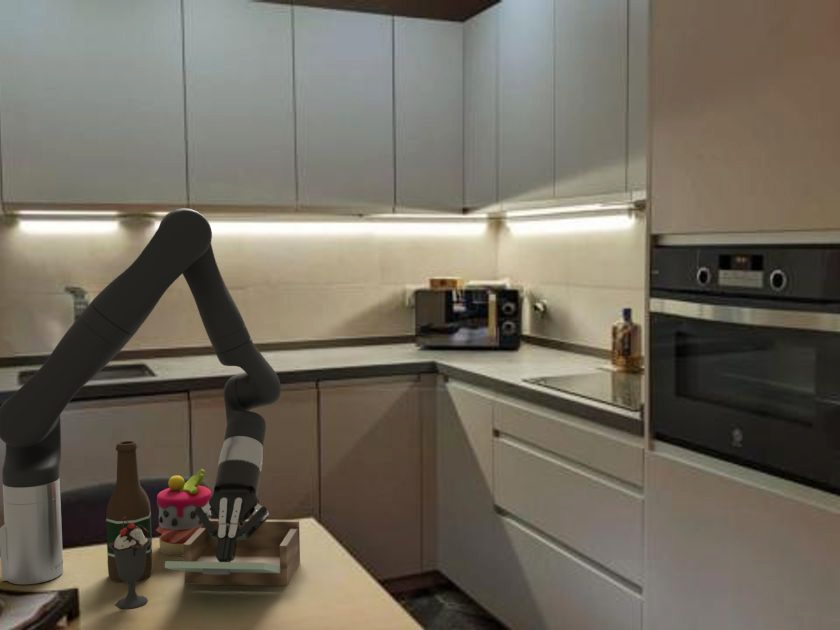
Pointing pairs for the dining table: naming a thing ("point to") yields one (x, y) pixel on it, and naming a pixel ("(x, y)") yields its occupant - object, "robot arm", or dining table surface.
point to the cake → (180, 512)
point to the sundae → (131, 561)
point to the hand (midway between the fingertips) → (224, 562)
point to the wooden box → (248, 554)
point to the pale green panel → (222, 567)
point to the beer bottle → (127, 506)
